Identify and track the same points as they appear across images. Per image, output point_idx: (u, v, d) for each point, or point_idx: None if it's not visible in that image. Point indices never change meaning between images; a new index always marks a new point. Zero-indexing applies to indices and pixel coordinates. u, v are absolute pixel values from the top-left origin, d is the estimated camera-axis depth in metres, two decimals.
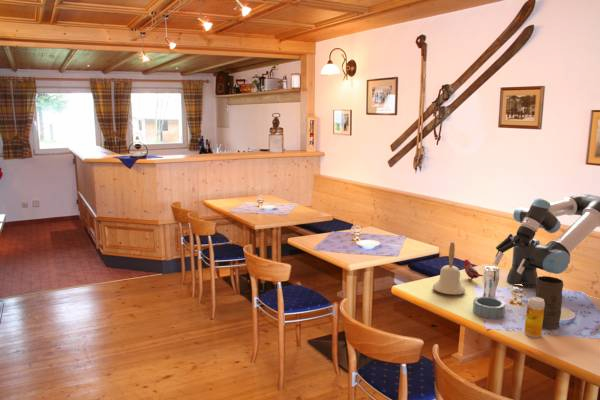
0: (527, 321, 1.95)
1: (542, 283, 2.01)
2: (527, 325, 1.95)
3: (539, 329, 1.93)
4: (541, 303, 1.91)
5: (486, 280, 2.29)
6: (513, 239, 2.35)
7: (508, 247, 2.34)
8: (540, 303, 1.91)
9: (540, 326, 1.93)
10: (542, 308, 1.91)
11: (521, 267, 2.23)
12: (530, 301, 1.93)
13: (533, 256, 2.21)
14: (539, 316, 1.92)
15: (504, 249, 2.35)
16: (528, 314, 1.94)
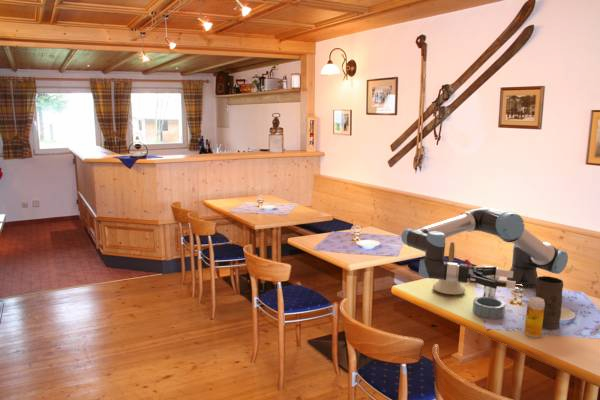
0: (527, 321, 1.95)
1: (542, 283, 2.01)
2: (527, 325, 1.95)
3: (539, 329, 1.93)
4: (541, 303, 1.91)
5: None
6: (474, 268, 2.05)
7: (487, 273, 2.03)
8: (540, 303, 1.91)
9: (540, 326, 1.93)
10: (542, 308, 1.91)
11: (508, 286, 1.90)
12: (530, 301, 1.93)
13: (489, 284, 1.90)
14: (539, 316, 1.92)
15: (491, 273, 2.04)
16: (528, 314, 1.94)
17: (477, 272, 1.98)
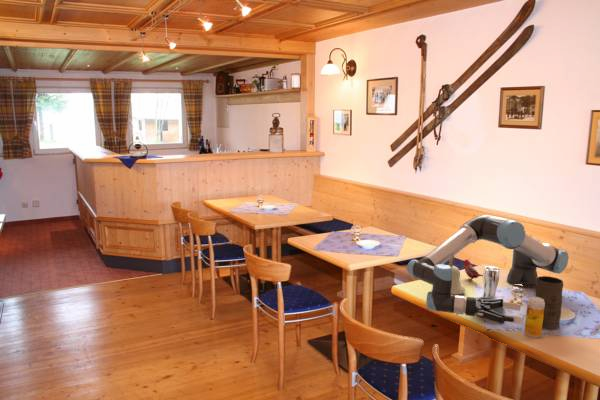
0: (527, 321, 1.95)
1: (542, 283, 2.01)
2: (527, 325, 1.95)
3: (539, 329, 1.93)
4: (541, 303, 1.91)
5: (486, 280, 2.29)
6: (482, 301, 2.06)
7: (494, 306, 2.04)
8: (540, 303, 1.91)
9: (540, 326, 1.93)
10: (542, 308, 1.91)
11: (515, 321, 1.90)
12: (530, 301, 1.93)
13: (497, 319, 1.90)
14: (539, 316, 1.92)
15: (498, 305, 2.04)
16: (528, 314, 1.94)
17: (484, 306, 1.98)
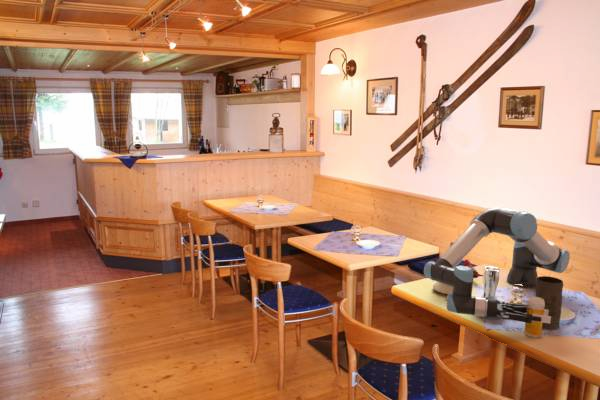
0: None
1: (542, 283, 2.01)
2: (527, 325, 1.95)
3: (539, 329, 1.93)
4: (541, 303, 1.91)
5: (486, 280, 2.29)
6: (505, 303, 2.03)
7: (518, 310, 1.99)
8: (540, 303, 1.91)
9: (540, 326, 1.93)
10: (542, 308, 1.91)
11: (543, 320, 1.91)
12: (530, 301, 1.93)
13: (525, 319, 1.90)
14: None
15: (523, 310, 1.99)
16: None
17: (507, 308, 1.96)
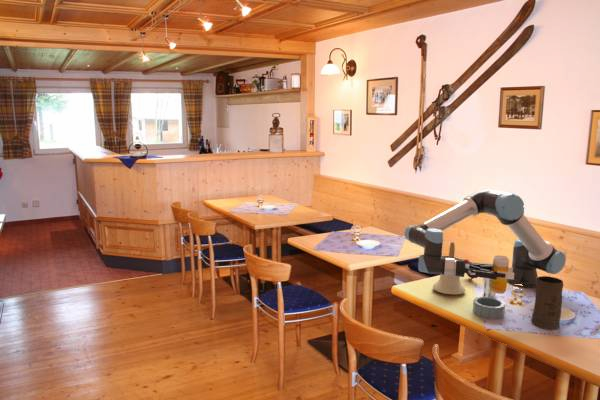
0: None
1: (542, 283, 2.01)
2: (493, 282, 2.08)
3: (504, 285, 2.06)
4: (505, 261, 2.04)
5: (486, 280, 2.29)
6: (473, 263, 2.15)
7: (485, 269, 2.12)
8: (504, 261, 2.04)
9: (505, 282, 2.06)
10: (506, 265, 2.04)
11: (507, 277, 2.04)
12: (495, 259, 2.06)
13: (490, 276, 2.03)
14: None
15: (489, 269, 2.12)
16: None
17: (474, 266, 2.09)
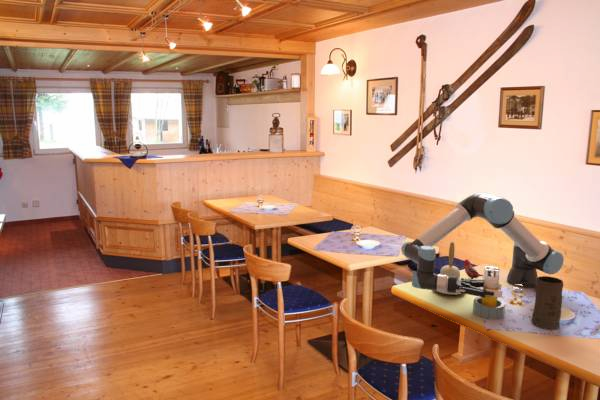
0: (483, 298, 2.15)
1: (542, 283, 2.01)
2: (483, 302, 2.15)
3: (493, 305, 2.13)
4: (495, 282, 2.11)
5: None
6: (464, 280, 2.23)
7: (475, 285, 2.20)
8: (494, 282, 2.11)
9: (494, 303, 2.13)
10: (496, 286, 2.11)
11: (495, 295, 2.09)
12: (486, 280, 2.13)
13: (479, 293, 2.09)
14: None
15: (480, 285, 2.20)
16: None
17: (465, 283, 2.16)
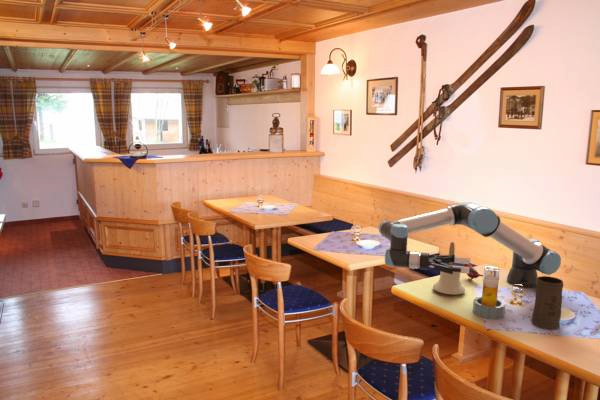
0: (483, 298, 2.15)
1: (542, 283, 2.01)
2: (483, 301, 2.15)
3: (493, 305, 2.13)
4: (495, 281, 2.11)
5: None
6: (435, 256, 2.25)
7: (446, 260, 2.23)
8: (494, 281, 2.11)
9: (494, 302, 2.13)
10: (496, 286, 2.12)
11: (462, 271, 2.10)
12: (485, 279, 2.13)
13: (446, 270, 2.10)
14: (493, 293, 2.12)
15: (450, 260, 2.24)
16: (483, 291, 2.14)
17: (436, 260, 2.18)
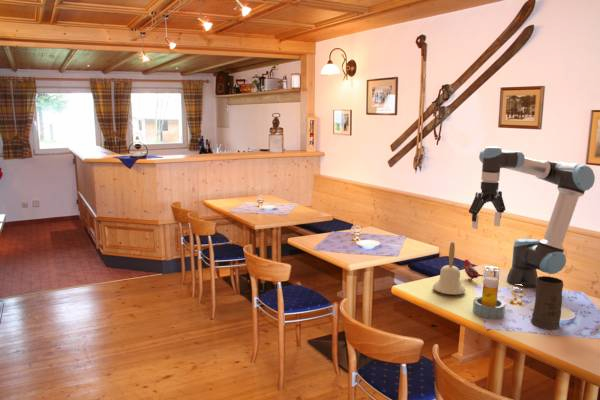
0: (483, 298, 2.15)
1: (542, 283, 2.01)
2: (483, 302, 2.15)
3: (493, 305, 2.13)
4: (495, 282, 2.11)
5: None
6: (498, 195, 2.25)
7: (494, 205, 2.27)
8: (494, 282, 2.11)
9: (494, 303, 2.13)
10: (496, 286, 2.11)
11: (473, 222, 2.24)
12: (485, 280, 2.13)
13: (471, 208, 2.21)
14: (493, 293, 2.12)
15: (496, 208, 2.28)
16: (483, 292, 2.14)
17: (487, 198, 2.22)
